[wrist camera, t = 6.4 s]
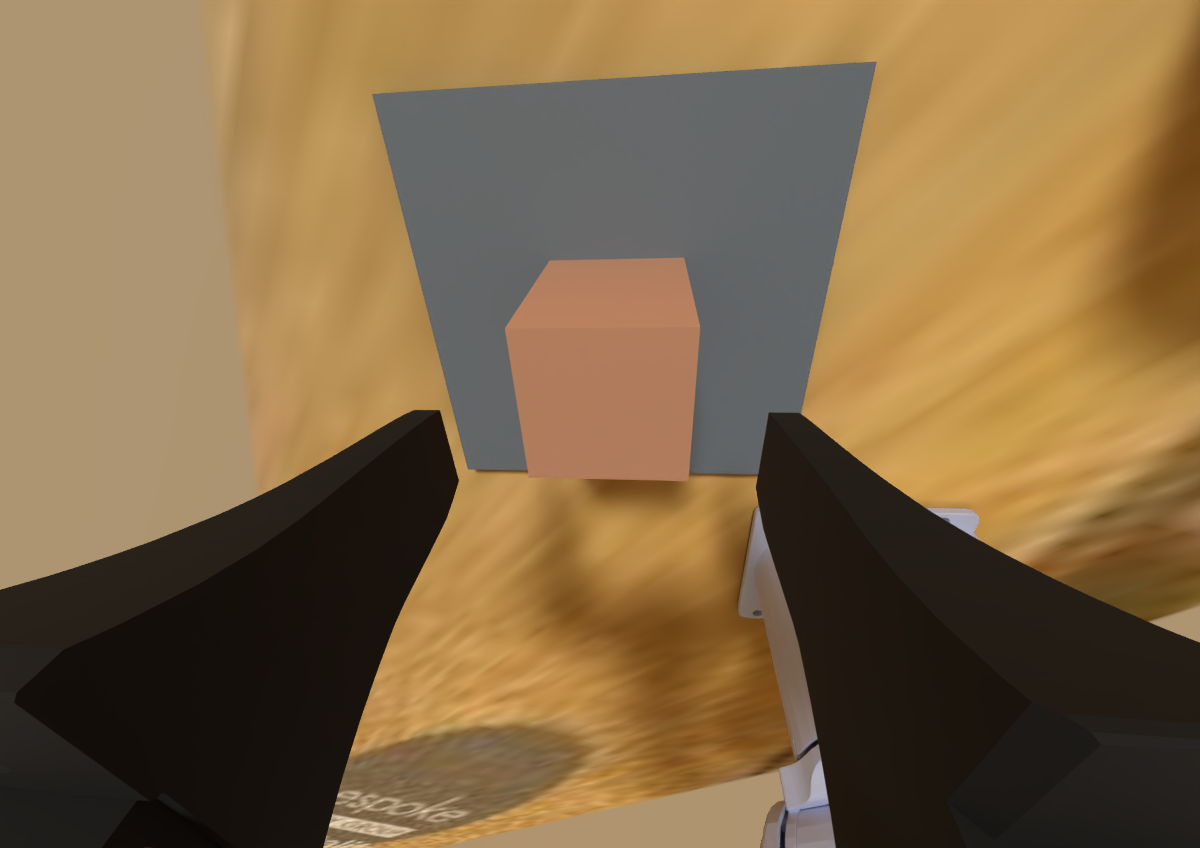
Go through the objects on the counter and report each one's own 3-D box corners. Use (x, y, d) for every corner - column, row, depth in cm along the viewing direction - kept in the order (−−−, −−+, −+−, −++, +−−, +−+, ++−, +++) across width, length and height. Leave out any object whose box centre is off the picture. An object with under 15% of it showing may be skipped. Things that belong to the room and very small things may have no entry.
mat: (867, 63, 13) (876, 61, 13) (784, 466, 21) (787, 474, 20) (381, 94, 14) (372, 94, 14) (472, 461, 22) (468, 469, 22)
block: (684, 257, 16) (700, 326, 11) (677, 378, 18) (688, 481, 13) (549, 260, 16) (504, 328, 11) (561, 378, 19) (528, 477, 14)
